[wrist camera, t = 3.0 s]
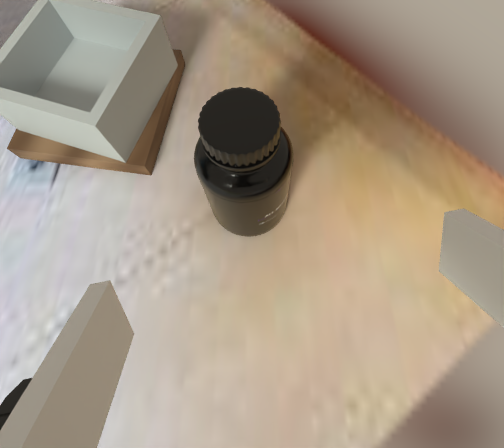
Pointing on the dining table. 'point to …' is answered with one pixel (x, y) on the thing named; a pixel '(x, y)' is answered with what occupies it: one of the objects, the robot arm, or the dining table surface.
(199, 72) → the dining table surface
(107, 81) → the grey square open box
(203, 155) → the supplement bottle
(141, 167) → the walnut plinth
